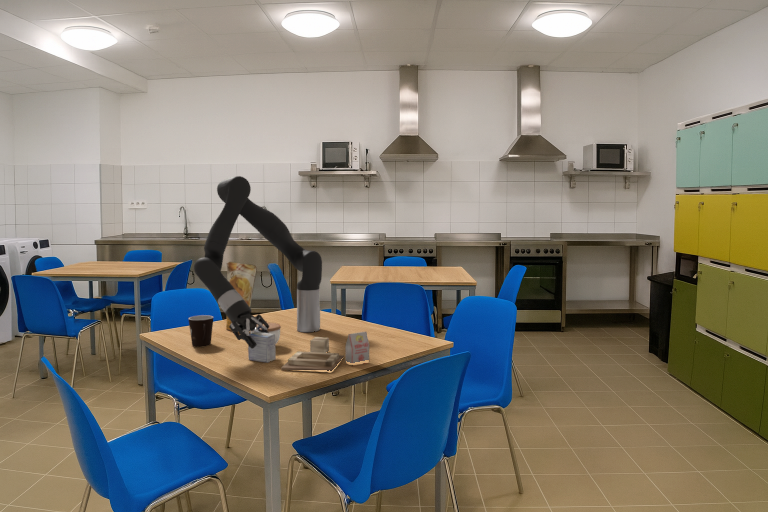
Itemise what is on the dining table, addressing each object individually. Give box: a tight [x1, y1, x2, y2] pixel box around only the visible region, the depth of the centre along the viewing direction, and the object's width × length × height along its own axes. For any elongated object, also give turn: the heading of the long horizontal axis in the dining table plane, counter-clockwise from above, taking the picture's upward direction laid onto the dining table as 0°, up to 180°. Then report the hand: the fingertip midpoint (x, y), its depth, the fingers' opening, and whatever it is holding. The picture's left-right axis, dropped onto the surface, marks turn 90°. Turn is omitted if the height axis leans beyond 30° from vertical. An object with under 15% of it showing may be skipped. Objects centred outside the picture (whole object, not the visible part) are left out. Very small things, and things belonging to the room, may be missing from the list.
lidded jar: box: [249, 320, 282, 345], centre depth 178 cm, size 11×11×9 cm
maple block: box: [309, 336, 330, 353], centre depth 170 cm, size 5×5×5 cm
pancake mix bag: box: [225, 261, 258, 335], centre depth 201 cm, size 7×19×28 cm, turn 47°
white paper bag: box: [345, 331, 370, 363], centre depth 159 cm, size 4×7×10 cm, turn 126°
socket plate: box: [280, 350, 345, 371], centre depth 157 cm, size 16×16×2 cm
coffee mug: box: [188, 314, 214, 348], centre depth 178 cm, size 12×9×10 cm
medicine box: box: [247, 332, 277, 364], centre depth 161 cm, size 8×4×9 cm, turn 65°
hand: (262, 343), depth 161 cm, fingers open, 8 cm apart
